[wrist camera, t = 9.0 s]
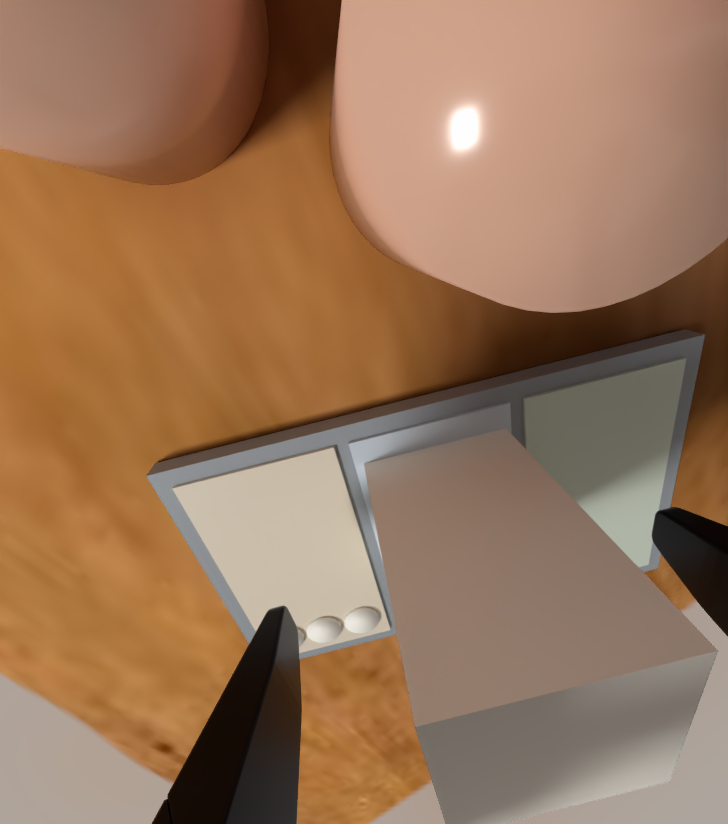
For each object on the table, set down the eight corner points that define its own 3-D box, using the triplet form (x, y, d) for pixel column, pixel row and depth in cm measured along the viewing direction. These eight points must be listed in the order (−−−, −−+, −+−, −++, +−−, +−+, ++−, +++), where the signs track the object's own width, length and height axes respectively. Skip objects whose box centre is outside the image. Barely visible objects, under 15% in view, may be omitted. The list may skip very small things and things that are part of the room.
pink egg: (568, -56, 7) (1085, -651, 2) (561, 243, 9) (807, 255, 4) (297, 12, 7) (253, -436, 2) (360, 294, 9) (402, 358, 4)
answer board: (684, 329, 10) (712, 336, 9) (644, 555, 14) (662, 573, 13) (155, 462, 10) (142, 481, 9) (266, 652, 14) (263, 674, 13)
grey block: (505, 428, 10) (718, 650, 5) (511, 533, 12) (670, 782, 7) (363, 463, 10) (415, 727, 5) (390, 564, 12) (450, 836, 7)
